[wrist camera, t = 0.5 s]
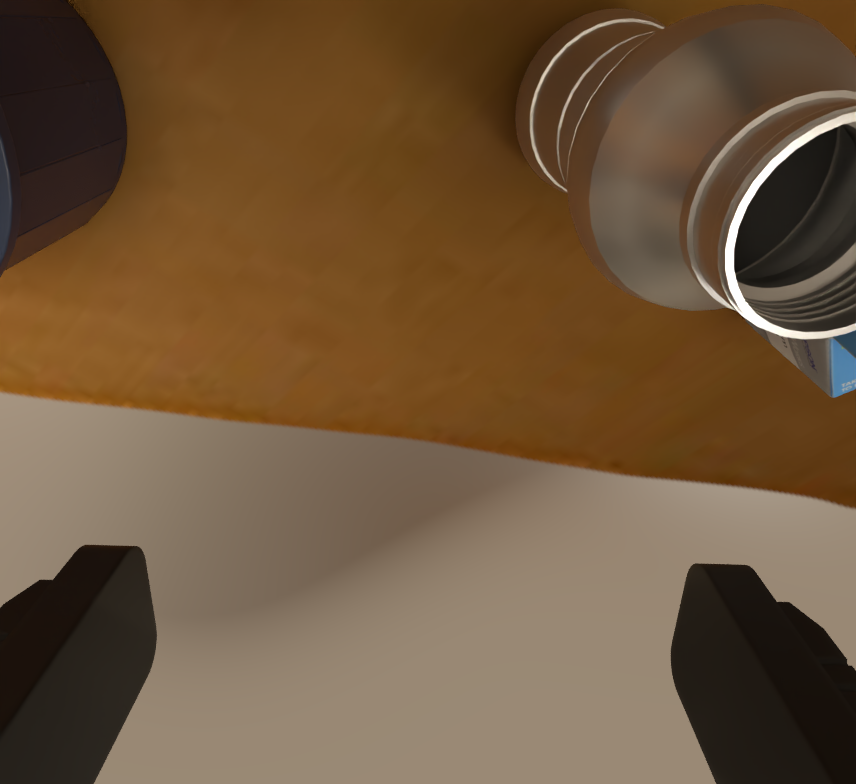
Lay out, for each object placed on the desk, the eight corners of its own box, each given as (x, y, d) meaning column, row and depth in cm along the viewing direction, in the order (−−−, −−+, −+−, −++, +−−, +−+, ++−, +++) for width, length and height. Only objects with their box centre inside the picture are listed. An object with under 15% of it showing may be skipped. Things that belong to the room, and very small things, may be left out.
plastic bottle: (701, 83, 27) (1172, 186, 10) (585, 213, 30) (795, 477, 13) (588, -31, 26) (921, -151, 8) (475, 119, 28) (541, 273, 11)
